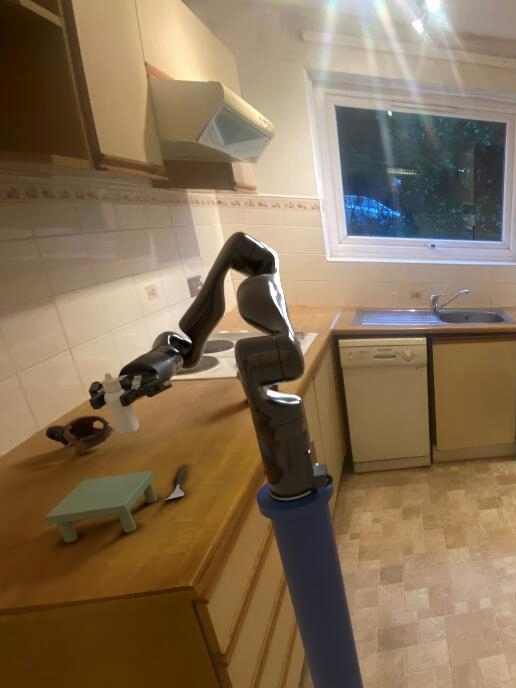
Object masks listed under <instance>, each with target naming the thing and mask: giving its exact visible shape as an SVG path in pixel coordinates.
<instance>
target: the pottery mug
mask: <svg viewBox="0 0 516 688" xmlns="http://www.w3.org/2000/svg"><path fill="white" fill-rule="evenodd" d="M97 421H98V422H100V423H101V424H102V425H103V426H102V427H97V426H95V427H94V423H96V422H97ZM109 424H110V423H109V421H107V420H106V418H104V417H101V416H98V415H82V416H78V417H75V418H73V419H71V420H70V421H68V422H67V423H66V424H65V425H60V424H59V425H58V424H57V425H52V426H49V427H48V428H46V431H45V436H46V438H48V439H50V440H52V441H55V442H56V443H61V444H62V445H63V446H64V447H67V446H69V444H72V445H74V452H75V453H76V454H82V455H84V454H85V453H86V452H87V450H90V449H92V448H95V447H96V446H98V445H100V444H102V443H104V442H105V441H107V438H109V437H110V436H111V434H112V432H114V431H115V429H114V428H113V427H112V426H111V425H109Z"/></svg>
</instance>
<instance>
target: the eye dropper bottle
mask: <svg viewBox="0 0 516 688" xmlns="http://www.w3.org/2000/svg"><path fill="white" fill-rule="evenodd" d="M117 378H118V377H113V376H112V374H111V373H110V372H105V373H104V379H103V380H101V383H102V385H103V387H104V390H105V392H106V393H105V395H104V400H105V403H106V405H105V406H106V408H107V411H108V413H109V415H110V417H111V420H112V423H113V425H114V427H115V430H116V432H117V434H118V435H121V436H123V435H128V434H132V433H135V432H137V430H139V428H140V424H139V421H138V418H137V415H136V413H135V410H134V407H133V405H132V404H133V403H131V404H130V405H129V406H126V407H123V406H122V404H121V402H120V399H119V397H120V396H121V395H122V394H124V393H125V392H126V391H125V390H123V389H121V385H120V383H119V380H118V379H117Z"/></svg>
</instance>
